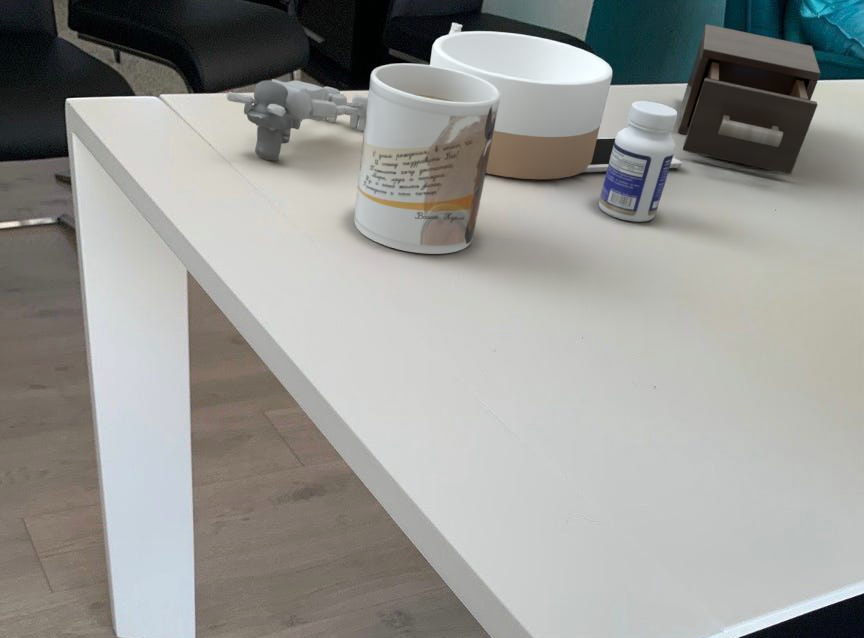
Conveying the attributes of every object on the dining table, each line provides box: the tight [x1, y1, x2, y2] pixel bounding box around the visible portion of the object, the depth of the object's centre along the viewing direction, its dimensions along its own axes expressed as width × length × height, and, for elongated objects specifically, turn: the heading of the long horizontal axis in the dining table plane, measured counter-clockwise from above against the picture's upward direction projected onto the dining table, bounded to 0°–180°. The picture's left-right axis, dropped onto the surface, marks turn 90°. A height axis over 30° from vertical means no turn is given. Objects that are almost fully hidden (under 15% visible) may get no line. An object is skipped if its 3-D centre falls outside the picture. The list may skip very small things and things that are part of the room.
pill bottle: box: [598, 100, 678, 223], centre depth 91 cm, size 5×5×9 cm
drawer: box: [682, 59, 819, 175], centre depth 108 cm, size 18×11×7 cm, turn 165°
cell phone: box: [582, 136, 683, 173], centre depth 104 cm, size 8×16×1 cm, turn 118°
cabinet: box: [677, 24, 821, 136], centre depth 118 cm, size 15×13×9 cm
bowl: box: [429, 30, 613, 180], centre depth 99 cm, size 17×17×8 cm
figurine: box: [226, 78, 368, 162], centre depth 94 cm, size 7×6×18 cm
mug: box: [353, 62, 501, 255], centre depth 80 cm, size 10×12×11 cm
